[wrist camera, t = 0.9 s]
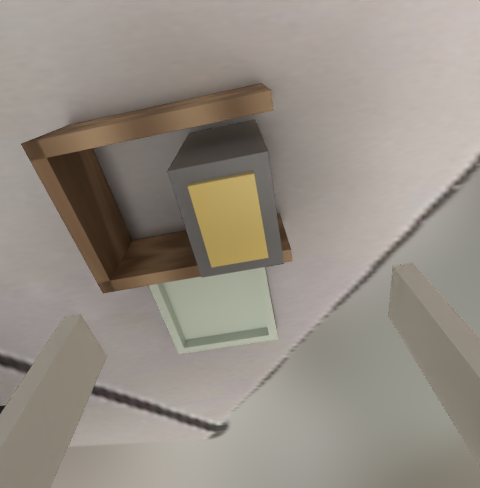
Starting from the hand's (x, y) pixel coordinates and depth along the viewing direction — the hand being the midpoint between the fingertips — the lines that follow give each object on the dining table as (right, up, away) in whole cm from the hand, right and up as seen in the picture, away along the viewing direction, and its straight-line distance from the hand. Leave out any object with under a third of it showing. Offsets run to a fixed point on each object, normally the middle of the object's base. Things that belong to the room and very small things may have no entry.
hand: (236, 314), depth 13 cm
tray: (-3, -3, +24) cm, 24 cm away
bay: (-5, +9, +16) cm, 20 cm away
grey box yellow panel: (-1, +10, +16) cm, 19 cm away
